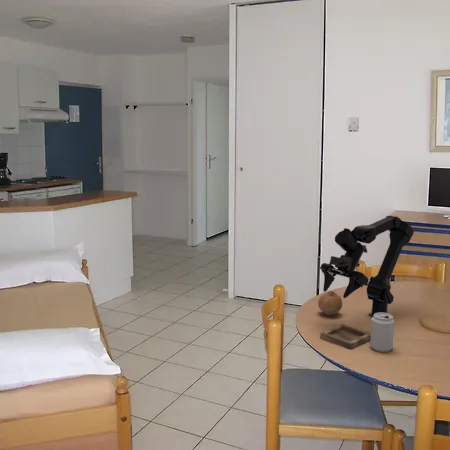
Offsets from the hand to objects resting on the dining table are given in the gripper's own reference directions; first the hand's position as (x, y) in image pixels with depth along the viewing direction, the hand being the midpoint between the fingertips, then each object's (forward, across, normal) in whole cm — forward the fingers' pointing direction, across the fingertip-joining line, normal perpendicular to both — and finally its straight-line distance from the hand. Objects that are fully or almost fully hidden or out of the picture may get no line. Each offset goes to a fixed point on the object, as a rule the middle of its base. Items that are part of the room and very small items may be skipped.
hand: (333, 294), depth 197 cm
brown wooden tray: (+12, +7, +8) cm, 16 cm away
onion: (+4, -13, +20) cm, 24 cm away
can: (+11, +20, +10) cm, 25 cm away
